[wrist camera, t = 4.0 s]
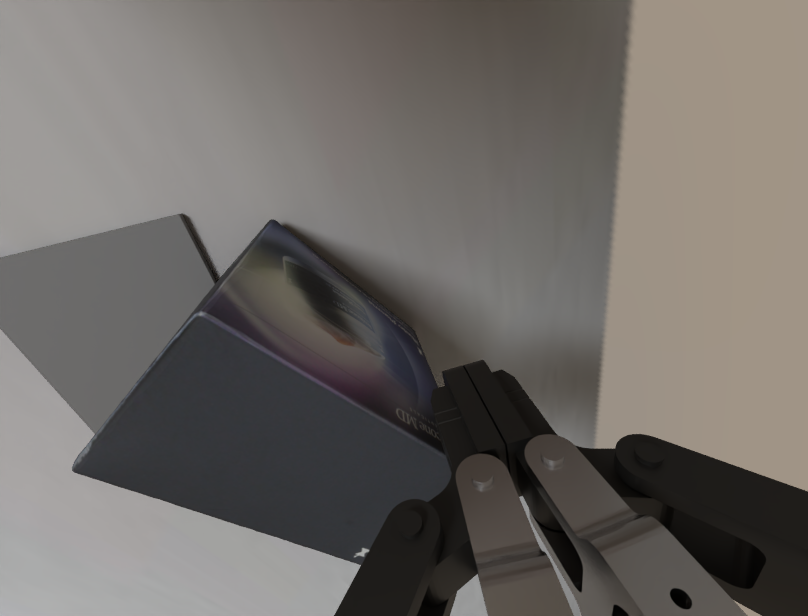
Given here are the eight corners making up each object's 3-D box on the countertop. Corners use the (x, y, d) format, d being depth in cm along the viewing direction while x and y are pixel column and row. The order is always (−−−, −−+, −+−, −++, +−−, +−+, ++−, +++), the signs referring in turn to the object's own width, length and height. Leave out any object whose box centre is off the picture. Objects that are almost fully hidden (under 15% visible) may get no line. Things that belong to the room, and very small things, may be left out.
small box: (422, 327, 21) (489, 477, 12) (353, 393, 22) (365, 574, 13) (274, 209, 16) (196, 306, 7) (199, 303, 18) (55, 482, 9)
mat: (-45, 268, 16) (-52, 271, 15) (181, 213, 16) (178, 214, 16) (130, 465, 22) (127, 469, 22) (288, 421, 23) (287, 424, 22)
